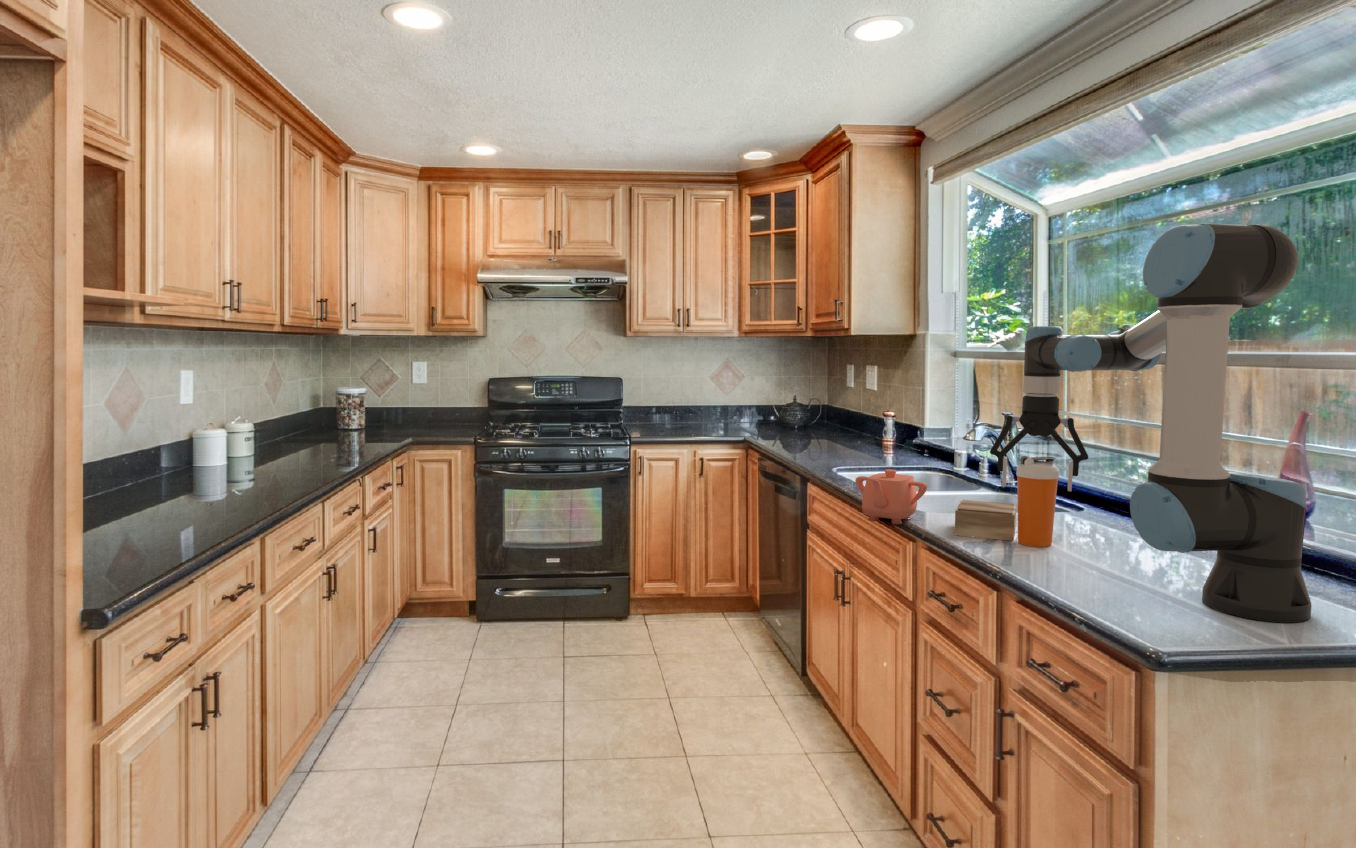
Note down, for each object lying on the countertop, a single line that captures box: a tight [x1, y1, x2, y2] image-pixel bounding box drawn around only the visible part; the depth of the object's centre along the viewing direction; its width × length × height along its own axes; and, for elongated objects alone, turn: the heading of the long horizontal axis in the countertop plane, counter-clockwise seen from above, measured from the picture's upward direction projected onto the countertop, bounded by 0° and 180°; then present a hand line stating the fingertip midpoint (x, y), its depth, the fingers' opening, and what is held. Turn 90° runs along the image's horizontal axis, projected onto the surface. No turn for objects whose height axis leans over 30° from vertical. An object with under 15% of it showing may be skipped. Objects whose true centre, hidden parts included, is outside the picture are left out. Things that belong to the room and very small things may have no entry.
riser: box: [954, 499, 1017, 542], centre depth 190 cm, size 13×13×6 cm
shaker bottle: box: [1016, 455, 1060, 548], centre depth 178 cm, size 9×9×20 cm
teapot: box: [855, 468, 928, 525], centre depth 204 cm, size 17×16×13 cm
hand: (1036, 487), depth 179 cm, fingers open, 13 cm apart
